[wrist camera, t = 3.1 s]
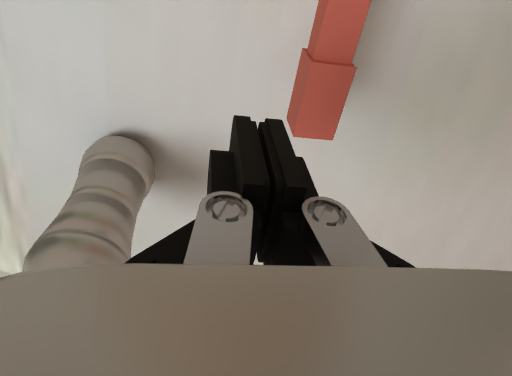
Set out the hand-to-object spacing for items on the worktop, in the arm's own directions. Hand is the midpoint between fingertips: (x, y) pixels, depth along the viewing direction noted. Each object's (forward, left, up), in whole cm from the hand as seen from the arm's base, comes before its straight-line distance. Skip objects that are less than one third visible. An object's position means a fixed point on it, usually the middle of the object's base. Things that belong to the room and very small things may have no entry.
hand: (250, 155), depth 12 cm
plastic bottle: (+14, -9, -20) cm, 26 cm away
